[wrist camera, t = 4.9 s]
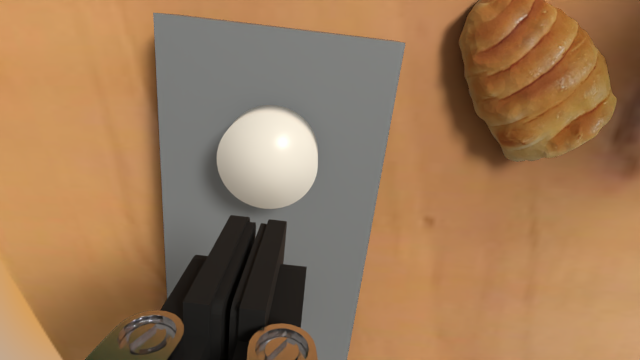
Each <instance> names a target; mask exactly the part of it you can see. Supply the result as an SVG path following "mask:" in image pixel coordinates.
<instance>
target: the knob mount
mask: <svg viewBox="0 0 640 360" xmlns="http://www.w3.org/2000/svg"><path fill="white" fill-rule="evenodd" d="M153 15H154V36H155V56H156V77H157V98H158V119H159V140H160V160H161V181H162V202H163V223H164V243H165V264H166V285H167V299H168V297H169V296H170V294H171V292H172V291H173V289H174V287H175V286H176V284H177V283H178V281H179V279H180V278H181V276H182V274H183V273H184V271H185V270H186V268H187V266H188V265H189V263H190V261H191V260H192V258H193V257H194V256H195V255H204V256H208V255H209V253H210V251H211V250H212V248H213V246H214V244H215V242H216V240H217V239H218V237H219V235H220V233H221V231H222V230H223V228H224V226H225V224H226V222H227V220H228V219H229V217H230V215H235V216H244V217H250V222H256V235H257V233H258V230H259V227H260V224H261V223H265V224H267V223H268V220H269V219H271V220H280V221H287V229H286V240H285V251H284V262H283V264H287V265H296V266H305V267H307V270H306V280H305V290H304V300H303V311H302V321H301V329H303V330H304V331H306V332H307V333H308V334H309V335H310V336H311V338H312V339H313V341H314V343H315V346H316V351H317V358H318V360H347V356H348V351H349V346H350V340H351V335H352V329H353V324H354V318H355V313H356V308H357V302H358V297H359V291H360V286H361V281H362V275H363V270H364V264H365V259H366V254H367V248H368V243H369V237H370V232H371V226H372V221H373V216H374V210H375V205H376V199H377V194H378V189H379V183H380V178H381V172H382V167H383V162H384V156H385V151H386V145H387V140H388V135H389V129H390V124H391V118H392V113H393V107H394V102H395V97H396V91H397V86H398V80H399V75H400V70H401V64H402V59H403V53H404V48H405V43H403V42H398V41H392V40H384V39H376V38H367V37H359V36H351V35H342V34H334V33H326V32H317V31H309V30H301V29H292V28H284V27H276V26H267V25H259V24H251V23H242V22H234V21H226V20H217V19H209V18H201V17H192V16H184V15H176V14H162V13H153ZM262 105H277V106H282V107H285V108H288V109H290V110H293V111H294V112H296V113H297V114H299V115H300V116H301V117H303V118H304V119H305V120H306V121H307V123H308V124H309V125H310V127H311V128H312V130H313V132H314V134H315V137H316V140H317V145H318V169H317V175H316V178H315V181H314V183H313V185H312V186H311V188H310V189H309V191H308V192H307V193H306V194H305V195H304V196H303V197H302V198H301V199H299V200H298V201H296V202H295V203H293V204H291V205H288V206H285V207H282V208H276V209H263V208H258V207H254V206H251V205H249V204H246V203H244V202H242V201H241V200H239V199H238V198H236V197H235V196H234V195H233V194H232V193H231V192H230V191H229V190H228V189H227V188H226V186H225V185H224V183H223V181H222V179H221V177H220V175H219V172H218V167H217V150H218V146H219V143H220V141H221V139H222V137H223V135H224V134H225V132H226V131H227V130H228V129H229V127H230V126H231V125H232V124H233V123H234V122H235V121H236V119H237V118H238V117H240V116H241V115H242V114H243V113H245V112H246V111H248V110H250V109H252V108H255V107H258V106H262ZM255 238H256V237H255Z"/></svg>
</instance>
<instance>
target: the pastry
mask: <svg viewBox="0 0 640 360" xmlns="http://www.w3.org/2000/svg"><path fill="white" fill-rule="evenodd" d="M459 46H460V49H461V52H462V59H463V61H464V66H465V72H464V76H465V79H466V80H467V84H468V86H469V95H470V96H471V97H472V100H473V105H474V110H475V112H476V114H477V115H478V117H480V118H481V119H483V120H484V121H485V122H486V123H487V126H488V127H489V129H490V132H491V133H492V135H493V136H494V138H495V139H496V140H497V141H498V143H499V144H500V146H501V148H502V151H503V154H504V156H505V157H506V158H507V159H509V160H511V161H516V162H519V161H525V160H528V161H534V160H538V159H541V158H553V157H557V156H560V155H563V154H565V153H567V152H569V151H571V150H573V149H575V148H577V147H579V146H581V145H582V144H584V143H585V142H587V141H589V140H590V139H592V138H594V137H595V136H596V135H597V134H598V133H599V131H600V129H601V128H602V126H604V125H605V124H607V123H608V122H609V120H610V119H611V118H612V115H613V113H614V110H615V106H616V102H617V99H616V97H615V96H614V95H613V93H612V91H611V86H610V79H609V74H608V69H607V65H606V61H605V58H604V57H603V55H602V54H601V53H600V52H599V51H598V49H597V48H596V47H595V46H594V44H593V42H592V40H591V38H590V37H589V35H588V34H587V32H586V31H585V30H583V29H582V28H581V27H580V26H579V24H578V22H577V21H575V20H574V19H572V18H570V17H568V16H567V15H566V14H565V13H564V12H563V11H562V10H561V9H559V8H555V7H553V6H552V5H550V4H548V3H546V2H545V1H544V0H479V1H478V2H477V3H476V4H475V5H474V7H473V8H472V10H471V11H470V13H469V14H468V16H467V19H466V22H465V25H464V28H463V30H462V33H461V36H460V39H459Z"/></svg>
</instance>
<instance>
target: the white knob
mask: <svg viewBox="0 0 640 360" xmlns="http://www.w3.org/2000/svg"><path fill="white" fill-rule="evenodd" d="M217 167H218V172H219V175H220V177H221V179H222V181H223V183H224V185H225V186H226V188H227V189H228V190H229V191H230V192H231V193H232V194H233V195H234V196H235V197H236V198H238V199H239V200H241V201H242V202H244V203H246V204H249V205H251V206H254V207H258V208H263V209H276V208H282V207H285V206H288V205H291V204H293V203H295V202H296V201H298V200H299V199H301V198H302V197H303V196H304V195H305V194H306V193H307V192H308V191H309V189H310V188H311V186H312V185H313V183H314V181H315V178H316V175H317V169H318V145H317V140H316V137H315V134H314V132H313V130H312V128H311V127H310V125H309V124H308V123H307V121H306V120H305V119H304V118H303V117H301V116H300V115H299V114H297V113H296V112H294V111H293V110H290V109H288V108H285V107H282V106H277V105H262V106H258V107H255V108H252V109H250V110H248V111H246V112H245V113H243V114H242V115H241V116H240V117H238V118H237V119H236V121H235V122H234V123H233V124H232V125H231V126H230V127H229V129H228V130H227V131H226V132H225V134H224V135H223V137H222V139H221V141H220V143H219V146H218V150H217Z"/></svg>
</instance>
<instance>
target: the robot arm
mask: <svg viewBox="0 0 640 360" xmlns="http://www.w3.org/2000/svg"><path fill="white" fill-rule="evenodd" d="M286 229H287V221H280V220H271V219H269V220H268V223H267V224H265V223H261V224H260V227H259V230H258V233H257V235H256V222H250V217H244V216H235V215H230V217H229V219H228V220H227V222H226V224H225V226H224V228H223V230H222V231H221V233H220V235H219V237H218V239H217V240H216V242H215V244H214V246H213V248H212V250H211V251H210V253H209V255H208V256H204V255H195V256H194V257H193V258H192V260H191V261H190V263H189V265H188V266H187V268H186V270H185V271H184V273H183V274H182V276H181V278H180V279H179V281H178V283H177V284H176V286H175V287H174V289H173V291H172V292H171V294H170V296H169V297H168V299H167V301H166V302H165V304H164V305H163V307H162V309H161V310H153V311H145V312H142V313H138V314H135V315H133V316H131V317H129V318H127V319H125V320H124V321H122V322H121V323H120V324H119V325H118V326H116V327H115V328H114V329H113V330H112V332H111V333H110V334H109V335H108V336H107V337H106V338H105V339H104V340H103V341H102V342H101V343H100V344H99V345H98V346H97V347H96V348H95V349H94V350H93V351H92V352H91V353H90V354H89V355H88V356H87V357H86V359H85V360H318V358H317V351H316V346H315V343H314V341H313V339H312V338H311V336H310V335H309V334H308V333H307V332H306V331H304V330H303V329H301V321H302V311H303V300H304V290H305V280H306V270H307V267H305V266H296V265H287V264H283V262H284V251H285V240H286ZM255 237H256V238H255Z"/></svg>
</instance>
